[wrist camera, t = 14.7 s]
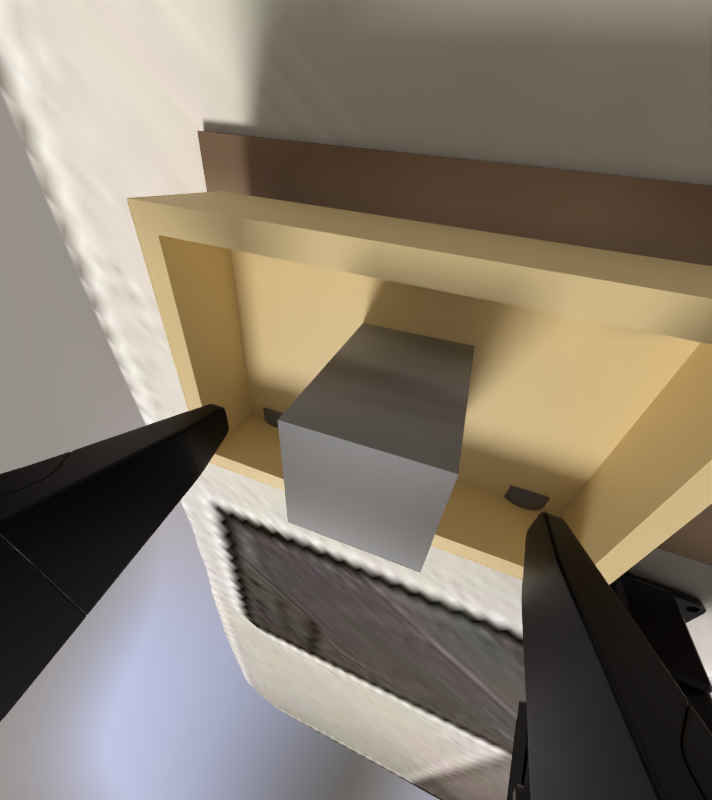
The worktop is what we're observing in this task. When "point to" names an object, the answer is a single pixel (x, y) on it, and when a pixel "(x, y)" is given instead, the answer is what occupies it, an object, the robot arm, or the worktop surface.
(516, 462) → the wooden tray
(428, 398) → the charcoal block
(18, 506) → the robot arm
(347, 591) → the worktop surface
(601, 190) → the brown board
